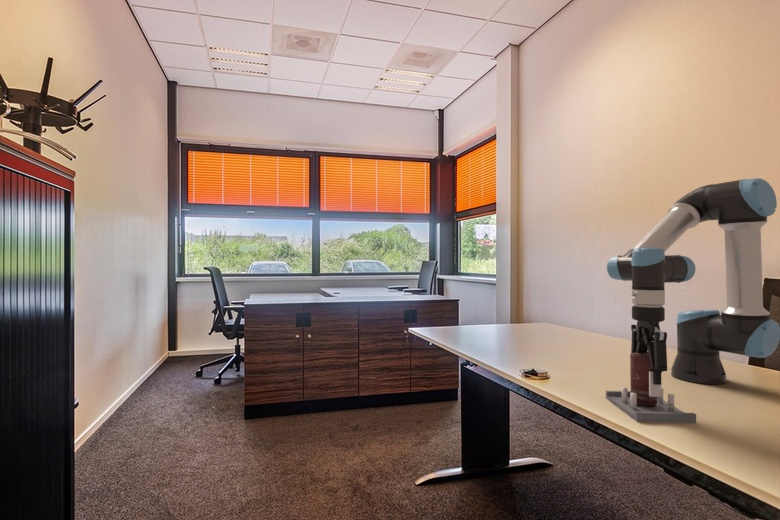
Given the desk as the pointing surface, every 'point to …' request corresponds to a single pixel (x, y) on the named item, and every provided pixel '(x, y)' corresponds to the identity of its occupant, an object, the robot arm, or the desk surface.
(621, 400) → the tray
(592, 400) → the desk surface
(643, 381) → the can
